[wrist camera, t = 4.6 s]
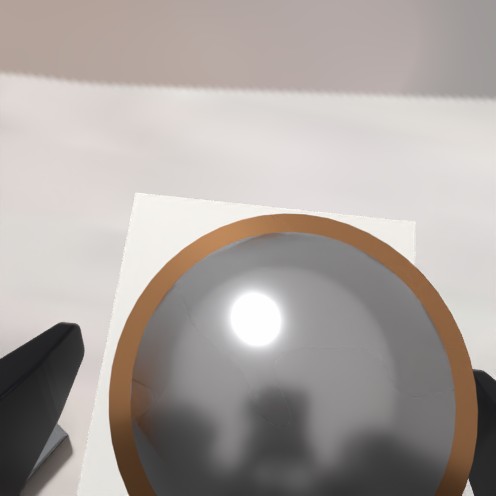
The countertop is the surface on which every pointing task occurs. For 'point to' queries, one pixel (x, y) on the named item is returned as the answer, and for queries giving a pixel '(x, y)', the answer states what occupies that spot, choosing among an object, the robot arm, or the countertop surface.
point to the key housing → (150, 263)
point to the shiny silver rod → (292, 370)
